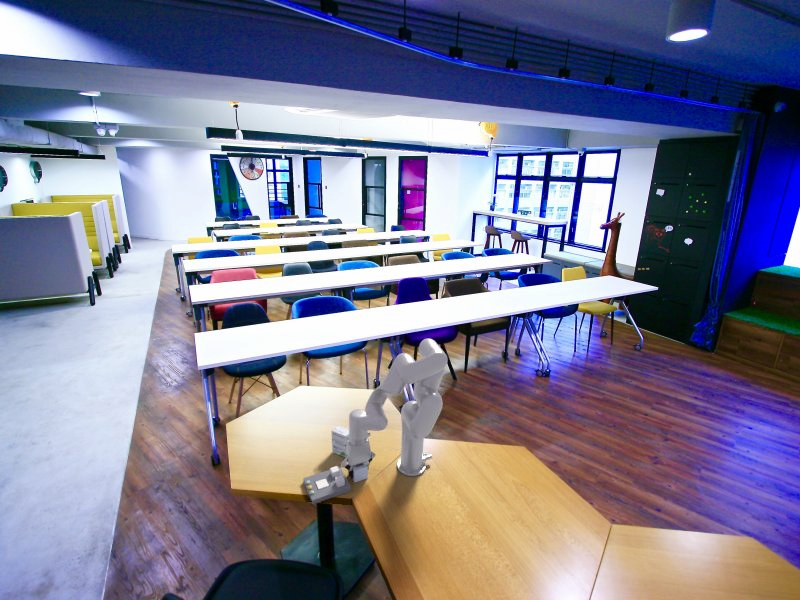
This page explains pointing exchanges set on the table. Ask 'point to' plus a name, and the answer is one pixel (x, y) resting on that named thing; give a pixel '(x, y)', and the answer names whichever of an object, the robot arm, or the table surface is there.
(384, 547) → the table surface
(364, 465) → the cap
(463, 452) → the table surface
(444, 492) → the table surface
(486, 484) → the table surface
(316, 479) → the breaker panel
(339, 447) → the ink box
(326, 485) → the button
